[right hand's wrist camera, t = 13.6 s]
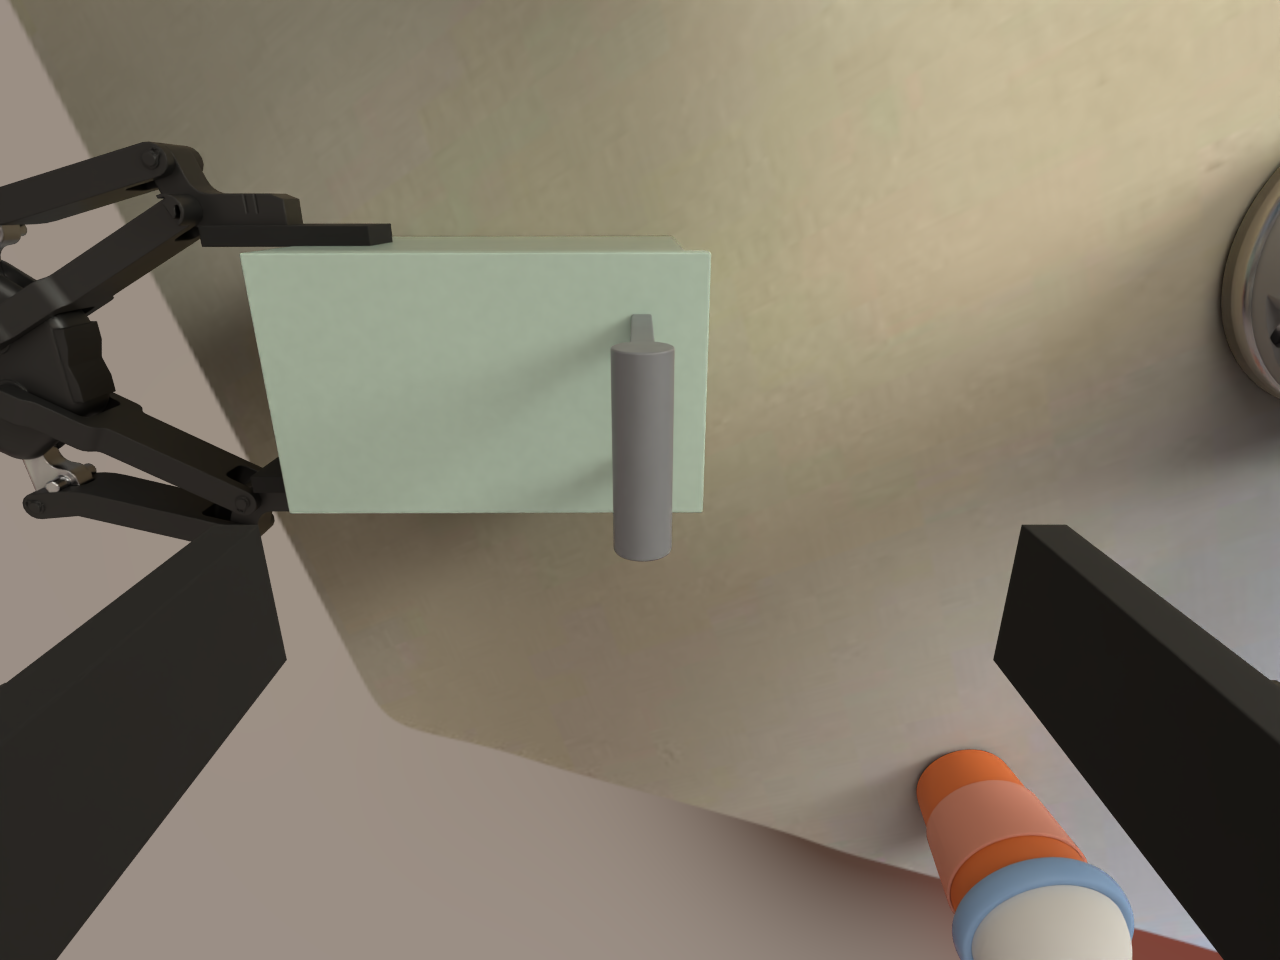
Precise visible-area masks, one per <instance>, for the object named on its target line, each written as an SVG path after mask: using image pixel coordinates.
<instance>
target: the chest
mask: <svg viewBox="0 0 1280 960" xmlns="http://www.w3.org/2000/svg"><path fill="white" fill-rule="evenodd" d="M392 240H393V242H391V243H385V244H379V245H373V246H290V247H283V248H275V249H268V250H261V251H607V250H684V249H683V248H682V247H681V245H680V244H679V243H678V242H677V241H676V240H675V239H674V238H673V237H672V236H392Z"/></svg>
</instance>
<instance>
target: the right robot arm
mask: <svg viewBox="0 0 1280 960" xmlns="http://www.w3.org/2000/svg"><path fill="white" fill-rule="evenodd" d="M1221 310H1222V320H1223V326H1224V331H1225V336H1226V339H1227V341H1228V344H1229V347H1230V350H1231V352H1232V354H1233V356H1234V358H1235V360H1236V361H1237V363H1238V364H1239V366H1240V367H1241V369H1242V370H1243V371H1244V372H1245V374H1246V375H1247V376H1248V377H1249V378H1250V379H1251V380H1252V381H1253V382H1254V383H1255V384H1257V385H1258V386H1259V387H1260V388H1262V389H1263V390H1265V391H1266V392H1268V393H1269V394H1271V395H1273V396H1275V397H1277V398H1279V399H1280V166H1279V168H1278V169H1277V170H1276V171H1275V172H1274V174H1273V175H1272V176H1271V177H1270V179H1269V180H1268V181H1267V182H1266V184H1265V185H1264V186H1263V188H1262V189H1261V191H1260V192H1259V194H1258V195H1257V197H1256V198H1255V199H1254V201H1253V203H1252V205H1251V206H1250V208H1249V210H1248V211H1247V213H1246V215H1245V217H1244V219H1243V221H1242V223H1241V225H1240V227H1239V229H1238V231H1237V234H1236V236H1235V239H1234V241H1233V244H1232V246H1231V249H1230V253H1229V256H1228V259H1227V263H1226V267H1225V272H1224V277H1223V285H1222V294H1221ZM286 660H287V659H286V654H285V650H284V645H283V640H282V636H281V631H280V626H279V621H278V616H277V612H276V607H275V602H274V598H273V593H272V588H271V583H270V578H269V574H268V569H267V564H266V559H265V555H264V550H263V545H262V541H261V536H260V531H259V526H258V525H213V526H211V527H210V528H209V529H208V530H206V531H205V532H204V533H202V534H201V535H200V536H198V537H197V538H196V539H194V540H193V541H192V542H191V543H189V544H188V545H187V546H185V547H184V548H183V549H181V550H180V551H179V552H177V553H176V554H175V555H173V556H172V557H171V558H169V559H168V560H167V561H166V562H164V563H163V564H162V565H160V566H159V567H158V568H156V569H155V570H154V571H152V572H151V573H150V574H149V575H147V576H146V577H145V578H143V579H142V580H141V581H139V582H138V583H137V584H135V585H134V586H133V587H132V588H130V589H129V590H128V591H126V592H125V593H124V594H122V595H121V596H120V597H118V598H117V599H116V600H114V601H113V602H112V603H111V604H109V605H108V606H107V607H105V608H104V609H103V610H101V611H100V612H99V613H97V614H96V615H95V616H93V617H92V618H91V619H89V620H88V621H87V622H86V623H84V624H83V625H82V626H80V627H79V628H78V629H76V630H75V631H74V632H73V633H71V634H70V635H69V636H67V637H66V638H65V639H63V640H62V641H61V642H59V643H58V644H57V645H55V646H54V647H53V648H52V649H50V650H49V651H48V652H46V653H45V654H44V655H42V656H41V657H40V658H38V659H37V660H36V661H34V662H33V663H32V664H30V665H29V666H28V667H27V668H25V669H24V670H23V671H21V672H20V673H19V674H17V675H16V676H15V677H13V678H12V679H11V680H9V681H8V682H7V683H4V684H2V685H0V960H56V959H57V958H58V957H59V956H60V954H61V953H62V952H63V950H64V949H65V948H66V946H67V945H68V944H69V942H70V941H71V940H72V939H73V937H74V936H75V935H76V933H77V932H78V931H79V930H80V928H81V927H82V926H83V924H84V923H85V922H86V920H87V919H88V918H89V917H90V915H91V914H92V913H93V911H94V910H95V909H96V907H97V906H98V905H99V903H100V902H101V901H102V900H103V898H104V897H105V896H106V894H107V893H108V892H109V890H110V889H111V888H112V887H113V885H114V884H115V883H116V881H117V880H118V879H119V877H120V876H121V875H122V874H123V872H124V871H125V870H126V868H127V867H128V866H129V864H130V863H131V862H132V860H133V859H134V858H135V857H136V855H137V854H138V853H139V851H140V850H141V849H142V848H143V846H144V845H145V844H146V842H147V841H148V840H149V838H150V837H151V836H152V834H153V833H154V832H155V831H156V829H157V828H158V827H159V825H160V824H161V823H162V821H163V820H164V819H165V818H166V816H167V815H168V814H169V812H170V811H171V810H172V808H173V807H174V806H175V805H176V803H177V802H178V801H179V799H180V798H181V797H182V795H183V794H184V793H185V792H186V790H187V789H188V788H189V786H190V785H191V784H192V782H193V781H194V780H195V778H196V777H197V776H198V775H199V773H200V772H201V771H202V769H203V768H204V767H205V765H206V764H207V763H208V762H209V760H210V759H211V758H212V756H213V755H214V754H215V752H216V751H217V750H218V749H219V747H220V746H221V745H222V743H223V742H224V741H225V739H226V738H227V737H228V736H229V734H230V733H231V732H232V730H233V729H234V728H235V726H236V725H237V724H238V723H239V721H240V720H241V719H242V717H243V716H244V715H245V713H246V712H247V711H248V710H249V708H250V707H251V706H252V704H253V703H254V702H255V700H256V699H257V698H258V697H259V695H260V694H261V693H262V691H263V690H264V689H265V687H266V686H267V685H268V683H269V682H270V681H271V680H272V678H273V677H274V676H275V674H276V673H277V672H278V670H279V669H280V668H281V667H282V665H283V664H284V663H285V661H286ZM993 660H994V661H995V663H996V664H997V665H998V667H999V668H1000V669H1001V670H1002V672H1003V673H1004V674H1005V676H1006V677H1007V678H1008V680H1009V681H1010V682H1011V683H1012V685H1013V686H1014V687H1015V689H1016V690H1017V691H1018V693H1019V694H1020V695H1021V697H1022V698H1023V699H1024V700H1025V702H1026V703H1027V704H1028V706H1029V707H1030V708H1031V710H1032V711H1033V712H1034V713H1035V715H1036V716H1037V717H1038V719H1039V720H1040V721H1041V723H1042V724H1043V725H1044V726H1045V728H1046V729H1047V730H1048V732H1049V733H1050V734H1051V736H1052V737H1053V738H1054V739H1055V741H1056V742H1057V743H1058V745H1059V746H1060V747H1061V749H1062V750H1063V751H1064V752H1065V754H1066V755H1067V756H1068V758H1069V759H1070V760H1071V762H1072V763H1073V764H1074V766H1075V767H1076V768H1077V769H1078V771H1079V772H1080V773H1081V775H1082V776H1083V777H1084V779H1085V780H1086V781H1087V782H1088V784H1089V785H1090V786H1091V788H1092V789H1093V790H1094V792H1095V793H1096V794H1097V795H1098V797H1099V798H1100V799H1101V801H1102V802H1103V803H1104V805H1105V806H1106V807H1107V808H1108V810H1109V811H1110V812H1111V814H1112V815H1113V816H1114V818H1115V819H1116V820H1117V821H1118V823H1119V824H1120V825H1121V827H1122V828H1123V829H1124V831H1125V832H1126V833H1127V835H1128V836H1129V837H1130V838H1131V840H1132V841H1133V842H1134V844H1135V845H1136V846H1137V848H1138V849H1139V850H1140V851H1141V853H1142V854H1143V855H1144V857H1145V858H1146V859H1147V861H1148V862H1149V863H1150V864H1151V866H1152V867H1153V868H1154V870H1155V871H1156V872H1157V874H1158V875H1159V876H1160V877H1161V879H1162V880H1163V881H1164V883H1165V884H1166V885H1167V887H1168V888H1169V889H1170V890H1171V892H1172V893H1173V894H1174V896H1175V897H1176V898H1177V900H1178V901H1179V902H1180V904H1181V905H1182V906H1183V907H1184V909H1185V910H1186V911H1187V913H1188V914H1189V915H1190V917H1191V918H1192V919H1193V920H1194V922H1195V923H1196V924H1197V926H1198V927H1199V928H1200V930H1201V931H1202V932H1203V933H1204V935H1205V936H1206V937H1207V939H1208V940H1209V941H1210V943H1211V944H1212V945H1213V946H1214V948H1215V949H1216V950H1217V952H1218V953H1219V954H1220V956H1221V957H1222V958H1223V959H1224V960H1280V682H1278V681H1276V680H1269V679H1268V678H1267V677H1265V676H1264V675H1263V674H1261V673H1260V672H1259V671H1257V670H1256V669H1255V668H1253V667H1252V666H1251V665H1250V664H1248V663H1247V662H1246V661H1244V660H1243V659H1242V658H1240V657H1239V656H1238V655H1236V654H1235V653H1234V652H1233V651H1231V650H1230V649H1229V648H1227V647H1226V646H1225V645H1223V644H1222V643H1221V642H1219V641H1218V640H1217V639H1215V638H1214V637H1213V636H1212V635H1210V634H1209V633H1208V632H1206V631H1205V630H1204V629H1202V628H1201V627H1200V626H1198V625H1197V624H1196V623H1194V622H1193V621H1192V620H1191V619H1189V618H1188V617H1187V616H1185V615H1184V614H1183V613H1181V612H1180V611H1179V610H1177V609H1176V608H1175V607H1173V606H1172V605H1171V604H1170V603H1168V602H1167V601H1166V600H1164V599H1163V598H1162V597H1160V596H1159V595H1158V594H1156V593H1155V592H1154V591H1152V590H1151V589H1150V588H1149V587H1147V586H1146V585H1145V584H1143V583H1142V582H1141V581H1139V580H1138V579H1137V578H1135V577H1134V576H1133V575H1131V574H1130V573H1129V572H1128V571H1126V570H1125V569H1124V568H1122V567H1121V566H1120V565H1118V564H1117V563H1116V562H1114V561H1113V560H1112V559H1111V558H1109V557H1108V556H1107V555H1105V554H1104V553H1103V552H1101V551H1100V550H1099V549H1097V548H1096V547H1095V546H1093V545H1092V544H1091V543H1090V542H1088V541H1087V540H1086V539H1084V538H1083V537H1082V536H1080V535H1079V534H1078V533H1076V532H1075V531H1074V530H1072V529H1071V528H1070V527H1069V526H1067V525H1022V526H1021V531H1020V536H1019V540H1018V545H1017V550H1016V555H1015V559H1014V564H1013V569H1012V574H1011V578H1010V583H1009V588H1008V593H1007V597H1006V602H1005V607H1004V612H1003V616H1002V621H1001V626H1000V631H999V635H998V640H997V645H996V650H995V654H994V659H993Z"/></svg>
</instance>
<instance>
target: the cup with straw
mask: <svg viewBox="0 0 1280 960" xmlns="http://www.w3.org/2000/svg"><path fill="white" fill-rule="evenodd" d="M917 799H918V803H919V806H920V809H921V812H922V815H923V818H924V821H925V824H926V827H927V830H926V833H927V839H928V843H929V846H930V849H931V852H932V855H933V858H934V861H935V864H936V867H937V870H938V873H939V876H940V879H941V882H942V885H943V888H944V891H945V894H946V898H947V901H948V904H949V906H950V908H951V910H952V912H953V913H954V914H955V915H954V918H953V924H952V936H953V942H954V945H955V948H956V951H957V953H958V955H959V958H960V959H961V960H1132V944H1131V940H1132V936H1133V932H1134V917H1133V912H1132V909H1131V906H1130V903H1129V901H1128V899H1127V897H1126V895H1125V893H1124V892H1123V890H1122V889H1121V888H1120V886H1119V885H1118V884H1117V883H1116V882H1115V881H1114V880H1113V879H1112V878H1111V877H1110V876H1109V875H1108V874H1107V873H1105V872H1104V871H1102V870H1101V869H1099V868H1097V867H1095V866H1093V865H1091V864H1088V863H1087V860H1086V858H1085V856H1084V855H1083V853H1082V852H1081V851H1080V849H1079V848H1078V847H1077V846H1076V845H1075V843H1074V842H1073V841H1072V840H1071V838H1070V837H1069V836H1068V835H1067V834H1066V832H1065V831H1064V830H1063V829H1062V827H1061V826H1060V825H1059V824H1058V823H1057V821H1056V820H1055V819H1054V818H1053V816H1052V815H1051V814H1050V813H1049V811H1048V810H1047V809H1046V808H1045V807H1044V805H1043V804H1042V803H1041V802H1040V800H1039V799H1038V798H1037V797H1036V796H1035V795H1034V794H1033V793H1032V792H1031V791H1030V790H1028V789H1027V788H1025V787H1024V786H1023V784H1022V783H1021V782H1020V781H1019V779H1018V778H1017V777H1016V776H1015V775H1014V773H1013V772H1012V771H1011V770H1010V768H1009V767H1008V766H1007V765H1006V764H1005V763H1004V762H1003V761H1002V760H1001V759H1000V758H998V757H997V756H995V755H993V754H991V753H989V752H985V751H981V750H960V751H955V752H952V753H949V754H946V755H944V756H942V757H940V758H939V759H937V760H935V761H934V762H933V763H931V764H930V765H929V766H928V767H927V768H926V769H925V771H924V772H923V773H922V775H921V777H920V779H919V781H918V785H917Z"/></svg>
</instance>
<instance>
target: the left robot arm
mask: <svg viewBox="0 0 1280 960" xmlns="http://www.w3.org/2000/svg"><path fill="white" fill-rule="evenodd" d="M203 165H204V164H203V160H202V158H201V156H200V154H199V153H198V152H197V151H196V150H195V149H193V148H191V147H188V146H181V145H173V144H164V143H156V142H142V143H139V144H135V145H132V146H129V147H126V148H123V149H120V150H116V151H113V152H110V153H107V154H104V155H100V156H97V157H94V158H91V159H88V160H85V161H81V162H78V163H75V164H72V165H69V166H65V167H62V168H59V169H56V170H53V171H50V172H46V173H43V174H40V175H37V176H34V177H30V178H27V179H24V180H21V181H18V182H15V183H11V184H8V185H5V186H2V187H0V254H1V251H2V249H3V248H4V247H5V246H7V245H11V244H15V243H17V242H18V241H19V240H20V237H21V236H24V235H26V233H27V228H26V226H25V224H41V223H48V222H53V221H57V220H60V219H63V218H67V217H70V216H73V215H76V214H80V213H83V212H86V211H89V210H93V209H96V208H99V207H102V206H106V205H109V204H112V203H116V202H119V201H122V200H125V199H129V198H132V197H135V196H138V195H142V194H145V193H148V192H151V191H155V190H158V189H159V190H160V192H161V194H159V195H156V196H157V198H164V199H163V200H161V201H160V202H158V203H157V204H155V205H154V206H152V207H151V208H149V209H148V210H146V211H145V212H144V213H142V214H141V215H139V216H138V217H136V218H135V219H133V220H132V221H130V222H129V223H127V224H126V225H124V226H123V227H121V228H120V229H118V230H117V231H115V232H114V233H112V234H111V235H110V236H108V237H106V238H105V239H104V240H102V241H101V242H99V243H98V244H96V245H95V246H93V247H92V248H90V249H89V250H87V251H86V252H84V253H83V254H81V255H80V256H78V257H77V258H75V259H74V260H72V261H71V262H70V263H68V264H66V265H65V266H64V267H62V268H61V269H59V270H58V271H56V272H55V273H53V274H52V275H50V276H48V277H46V278H42V279H39V280H35V279H33V278H32V277H30V276H29V275H27V274H25V273H24V272H22V271H20V270H19V269H17V268H15V267H14V266H12V265H11V264H9V263H7V262H5V261H3V260H1V256H0V452H2V453H5V454H7V455H9V456H11V457H14V458H17V459H23V462H24V464H25V466H26V469H27V471H28V474H29V476H30V478H31V481H32V483H33V485H34V488H35V490H36V491H35V492H33V493H31V494H29V495H27V496H26V497H25V498H24V499H23V507H24V509H25V511H26V512H27V513H28V514H29V515H31V516H32V517H34V518H38V519H47V518H59V517H71V516H81V517H86V518H90V519H94V520H99V521H103V522H108V523H112V524H116V525H121V526H125V527H130V528H134V529H138V530H143V531H147V532H152V533H156V534H160V535H165V536H169V537H174V538H178V539H183V540H187V541H191V542H192V541H193V540H194V539H196V538H197V537H198V536H200V535H201V534H202V533H204V532H205V531H206V530H208V529H209V528H210V527H211V526H213V525H258V526H259V531H260V536H262V535H263V534H264V533H265V532H266V531H267V530H268V529H269V528H270V527H271V526H272V525H273V524H274V516H273V514H272V511H289V507H288V502H287V497H286V492H285V486H284V481H283V476H282V471H281V466H280V461H279V457H278V458H276V459H275V460H273V461H272V462H271V463H269V464H268V465H266V466H265V467H264V468H261V467H259V466H257V465H255V464H253V463H251V462H248V461H246V460H244V459H242V458H240V457H238V456H235V455H233V454H231V453H229V452H227V451H225V450H223V449H220V448H218V447H216V446H214V445H212V444H210V443H207V442H205V441H203V440H201V439H199V438H197V437H195V436H192V435H190V434H188V433H186V432H184V431H182V430H179V429H177V428H175V427H173V426H171V425H168V424H166V423H164V422H162V421H160V420H158V419H156V418H154V417H151V416H149V415H147V414H145V413H144V412H143V411H142V407H141V406H140V405H138V404H137V403H135V402H132V401H130V400H128V399H126V398H124V397H122V396H120V395H117V394H115V393H113V392H115V387H114V383H113V379H112V376H111V373H110V371H109V370H108V368H107V366H106V364H105V362H104V360H103V358H102V339H101V335H100V331H99V327H98V324H97V321H90V320H89V318H88V317H87V316H88V315H90V314H91V313H93V312H94V311H96V310H97V309H99V308H100V307H102V306H104V305H105V304H107V303H108V302H110V301H111V300H112V299H113V298H114V297H113V296H114V295H115V294H116V293H118V292H119V291H121V290H122V289H124V288H125V287H127V286H128V285H130V284H131V283H133V282H134V281H136V280H138V279H139V278H141V277H142V276H144V275H145V274H147V273H148V272H150V271H151V270H153V269H154V268H156V267H158V266H159V265H161V264H162V263H164V262H165V261H167V260H168V259H170V258H171V257H173V256H174V255H176V254H177V253H179V252H180V251H182V250H183V249H185V248H187V247H188V246H190V245H191V244H193V243H194V242H196V241H197V240H199V239H201V244H202V247H290V246H373V245H379V244H385V243H391V242H393V240H392V232H391V224H303V220H302V214H301V208H300V202H299V199H297V198H295V197H292V196H290V195H287V194H225V193H221V192H219V191H217V190H216V189H214V188H213V187H212V186H211V185H210V184H209V182H208V181H207V179H206V177H205V175H204V174H203V172H202V171H203ZM64 444H67V445H69V446H72V447H74V448H76V449H79V450H82V451H88V452H89V451H97V452H101V453H104V454H106V455H109V456H111V457H113V458H115V459H117V460H120V461H122V462H124V463H126V464H129V465H131V466H133V467H135V468H137V469H140V470H142V471H144V472H146V473H149V474H151V475H153V476H155V477H158V478H160V479H162V480H164V481H166V482H169V483H171V484H173V485H175V486H177V487H175V486H171V485H166V484H162V483H158V482H154V481H149V480H145V479H141V478H136V477H132V476H128V475H122V474H117V473H106V472H102V473H96V468H95V466H93V465H92V464H89V463H88V464H84V465H83V464H81V463H76V462H71V461H69V460H67V459H65V458H64V457H63V456H62V455H61V453H60V452H59V448H61V447H62V446H63V445H64ZM179 487H180V488H179Z"/></svg>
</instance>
